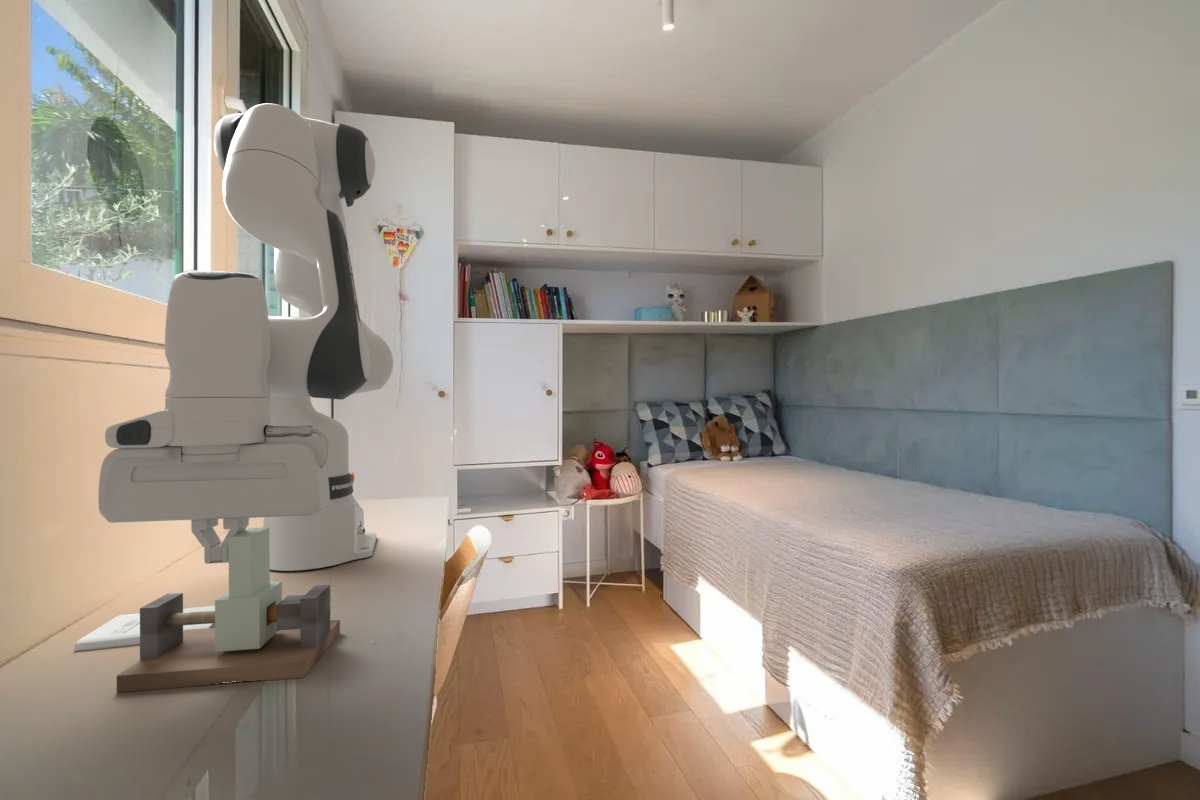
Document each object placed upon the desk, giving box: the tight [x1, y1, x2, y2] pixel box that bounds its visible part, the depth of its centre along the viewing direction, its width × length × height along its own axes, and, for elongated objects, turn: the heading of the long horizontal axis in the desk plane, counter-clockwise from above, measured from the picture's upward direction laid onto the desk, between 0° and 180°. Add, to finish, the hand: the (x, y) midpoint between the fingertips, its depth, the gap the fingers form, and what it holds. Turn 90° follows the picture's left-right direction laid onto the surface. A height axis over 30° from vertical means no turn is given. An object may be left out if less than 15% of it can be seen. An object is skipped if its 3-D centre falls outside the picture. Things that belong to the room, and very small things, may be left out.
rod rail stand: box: [116, 584, 341, 693], centre depth 55 cm, size 10×16×6 cm, turn 98°
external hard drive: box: [74, 605, 215, 652], centre depth 62 cm, size 2×8×12 cm
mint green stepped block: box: [214, 527, 283, 652], centre depth 55 cm, size 5×4×11 cm
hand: (221, 561), depth 54 cm, fingers closed
